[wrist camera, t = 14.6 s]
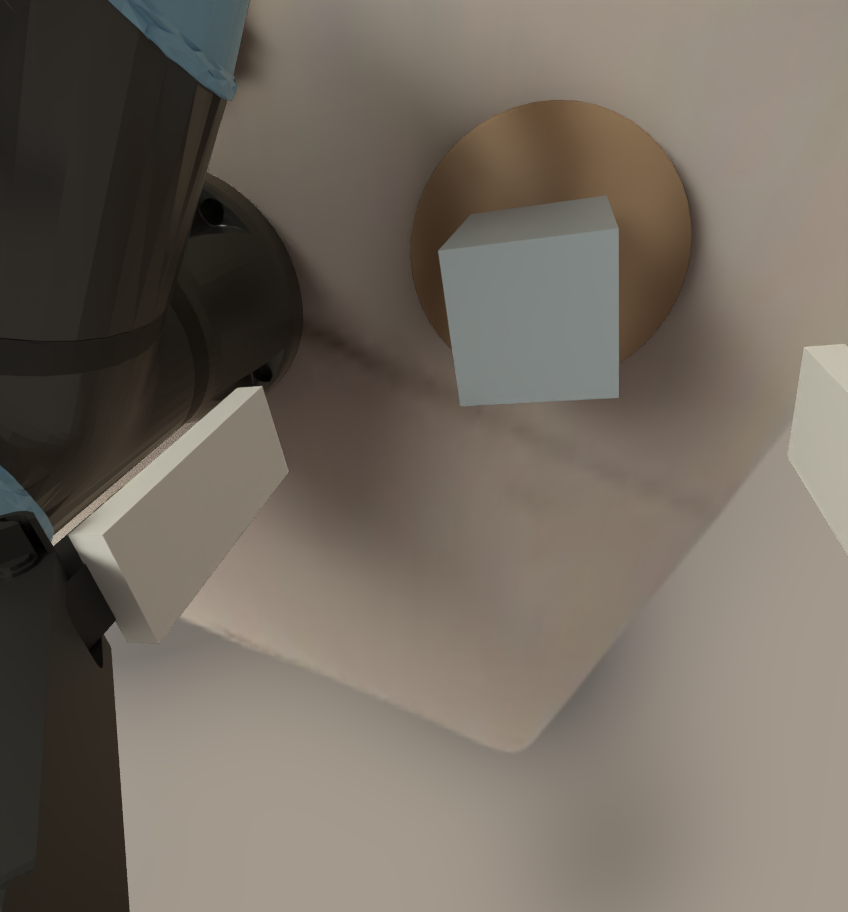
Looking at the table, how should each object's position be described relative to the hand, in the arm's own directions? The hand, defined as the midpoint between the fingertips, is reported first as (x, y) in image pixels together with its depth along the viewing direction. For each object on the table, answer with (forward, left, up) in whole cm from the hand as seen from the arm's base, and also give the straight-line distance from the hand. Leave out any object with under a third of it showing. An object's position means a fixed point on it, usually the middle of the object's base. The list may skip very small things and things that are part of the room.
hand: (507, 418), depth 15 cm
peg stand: (0, 0, -20) cm, 20 cm away
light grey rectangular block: (0, 0, -16) cm, 16 cm away
